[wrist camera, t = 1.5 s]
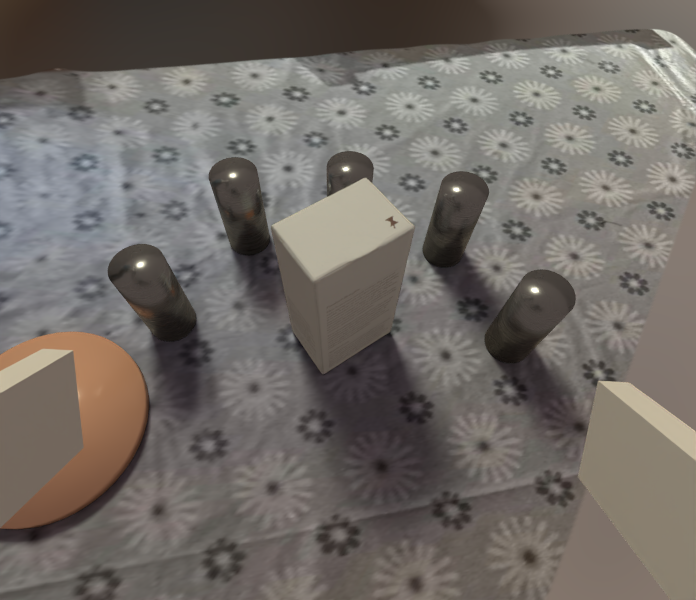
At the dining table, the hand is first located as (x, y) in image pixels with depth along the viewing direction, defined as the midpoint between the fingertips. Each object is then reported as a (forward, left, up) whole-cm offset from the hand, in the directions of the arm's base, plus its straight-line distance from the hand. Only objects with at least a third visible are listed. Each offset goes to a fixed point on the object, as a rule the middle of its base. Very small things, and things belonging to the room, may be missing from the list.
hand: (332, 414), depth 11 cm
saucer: (-13, -13, -18) cm, 26 cm away
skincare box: (-9, +6, -18) cm, 21 cm away
